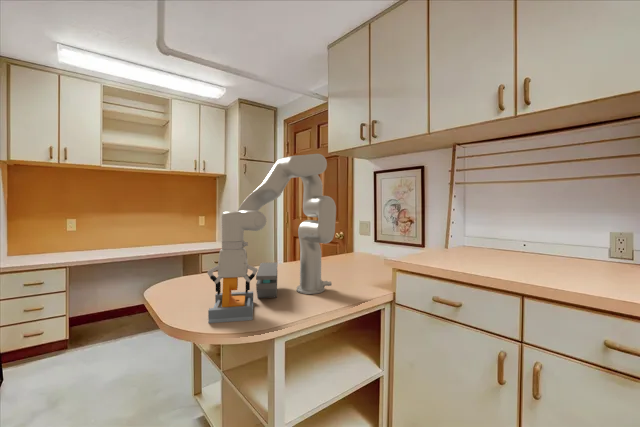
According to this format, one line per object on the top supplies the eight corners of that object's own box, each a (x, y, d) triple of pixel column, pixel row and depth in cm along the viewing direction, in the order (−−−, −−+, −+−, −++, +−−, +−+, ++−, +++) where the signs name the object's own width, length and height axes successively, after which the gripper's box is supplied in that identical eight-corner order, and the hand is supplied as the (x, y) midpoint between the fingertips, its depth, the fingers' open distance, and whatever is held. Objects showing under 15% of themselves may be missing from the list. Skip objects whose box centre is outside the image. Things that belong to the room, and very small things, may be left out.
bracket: (243, 312, 101) (243, 278, 101) (222, 314, 100) (221, 279, 99) (245, 302, 112) (245, 271, 111) (225, 303, 110) (225, 272, 110)
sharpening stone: (260, 285, 139) (260, 262, 138) (277, 284, 140) (277, 262, 139) (256, 303, 114) (256, 276, 113) (276, 303, 115) (276, 275, 114)
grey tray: (253, 301, 116) (253, 291, 116) (252, 319, 98) (252, 307, 98) (216, 304, 113) (216, 293, 113) (208, 323, 95) (208, 310, 95)
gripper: (257, 243, 110) (257, 288, 111) (209, 244, 106) (209, 291, 107) (257, 246, 103) (257, 294, 103) (205, 247, 99) (205, 297, 100)
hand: (233, 292), depth 105 cm, fingers open, 9 cm apart
